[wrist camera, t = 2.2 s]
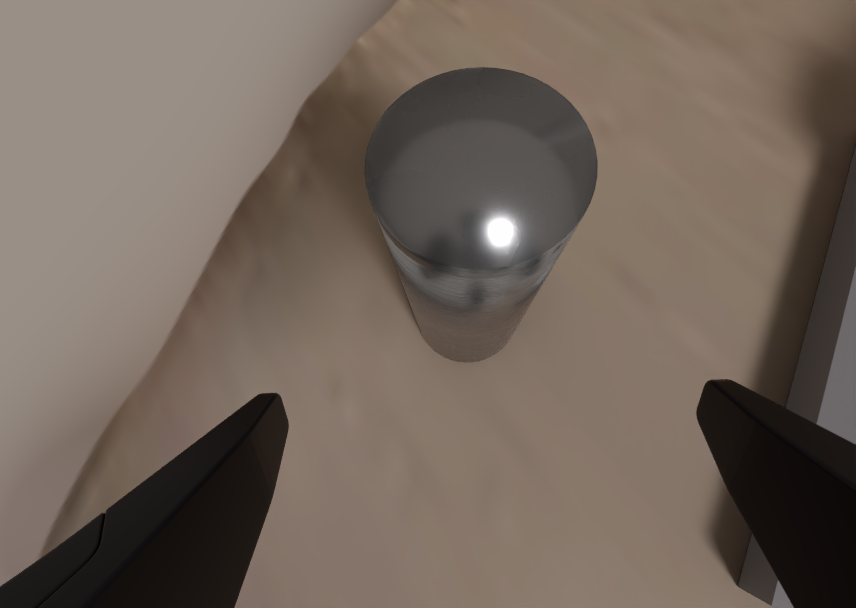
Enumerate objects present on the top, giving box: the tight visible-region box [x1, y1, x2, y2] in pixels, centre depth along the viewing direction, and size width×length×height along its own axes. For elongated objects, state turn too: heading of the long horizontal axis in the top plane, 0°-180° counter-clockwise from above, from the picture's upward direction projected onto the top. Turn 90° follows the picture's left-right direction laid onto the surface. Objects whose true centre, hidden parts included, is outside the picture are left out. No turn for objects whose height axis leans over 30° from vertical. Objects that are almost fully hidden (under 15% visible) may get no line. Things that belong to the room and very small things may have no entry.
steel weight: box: [365, 67, 597, 362], centre depth 16 cm, size 5×5×13 cm
